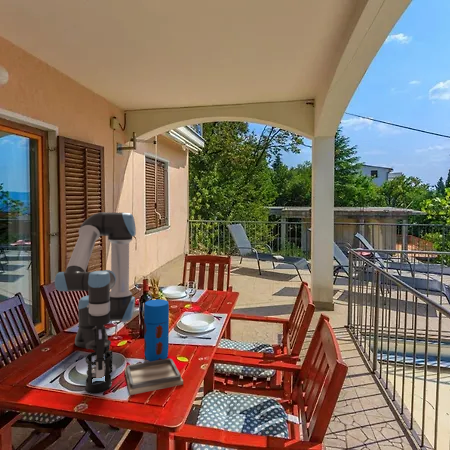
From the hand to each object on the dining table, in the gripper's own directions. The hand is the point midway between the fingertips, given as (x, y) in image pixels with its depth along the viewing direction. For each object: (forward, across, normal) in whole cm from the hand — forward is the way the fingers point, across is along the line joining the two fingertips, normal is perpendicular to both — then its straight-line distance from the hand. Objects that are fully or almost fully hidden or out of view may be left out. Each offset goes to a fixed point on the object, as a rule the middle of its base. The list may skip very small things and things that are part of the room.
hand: (99, 371), depth 126 cm
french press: (+6, 0, 0) cm, 6 cm away
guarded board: (+6, +1, +20) cm, 21 cm away
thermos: (+6, -17, +25) cm, 31 cm away
